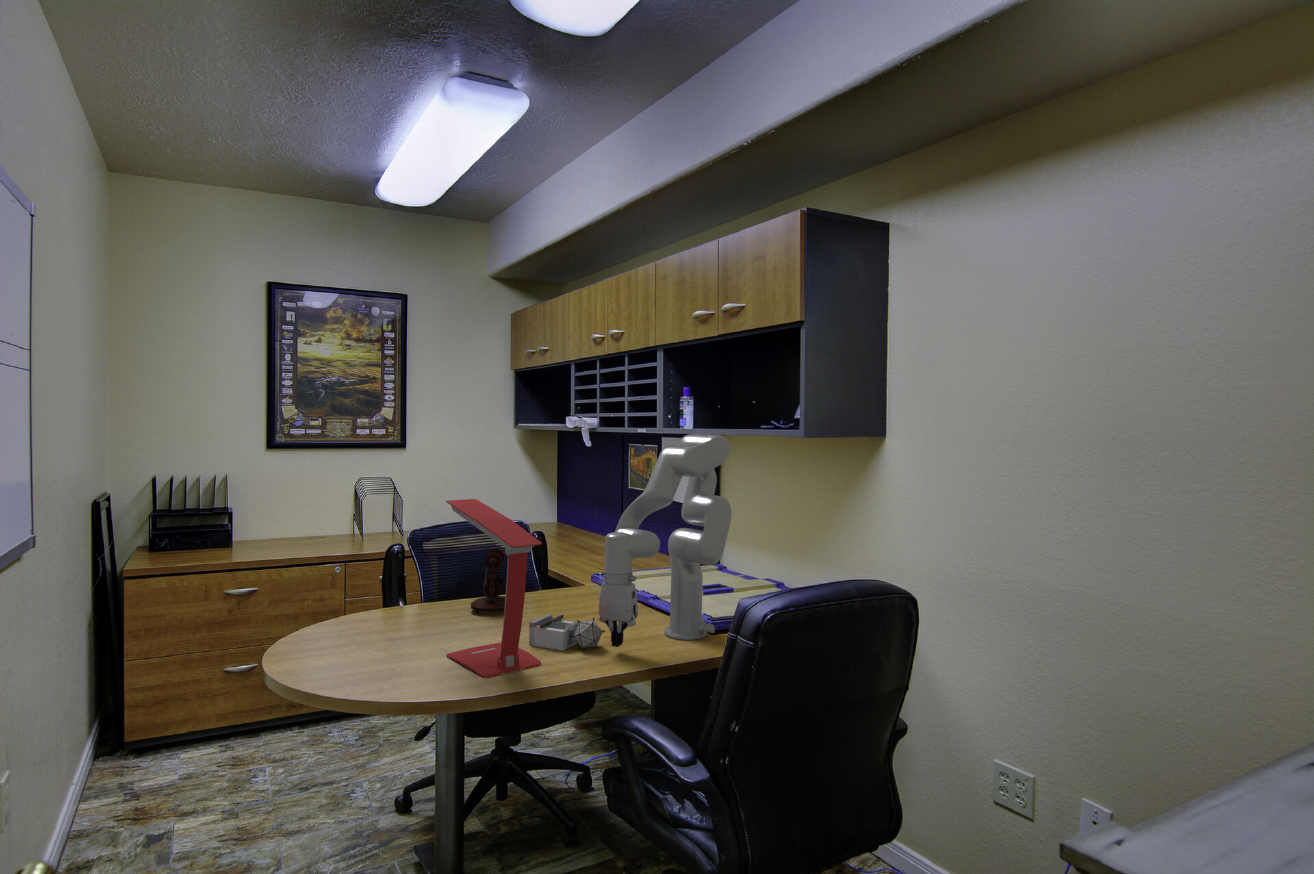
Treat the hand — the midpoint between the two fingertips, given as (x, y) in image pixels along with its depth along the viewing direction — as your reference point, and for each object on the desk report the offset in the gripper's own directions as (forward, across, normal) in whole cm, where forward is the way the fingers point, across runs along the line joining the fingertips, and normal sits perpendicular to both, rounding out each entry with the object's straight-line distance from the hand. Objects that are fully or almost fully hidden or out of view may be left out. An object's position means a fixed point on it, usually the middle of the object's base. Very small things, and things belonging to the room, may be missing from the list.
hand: (617, 645), depth 193 cm
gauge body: (+2, +20, 0) cm, 20 cm away
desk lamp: (+2, +28, +19) cm, 34 cm away
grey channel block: (+1, +17, 0) cm, 17 cm away
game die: (+2, +9, 0) cm, 10 cm away
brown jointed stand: (+2, +56, -19) cm, 59 cm away
